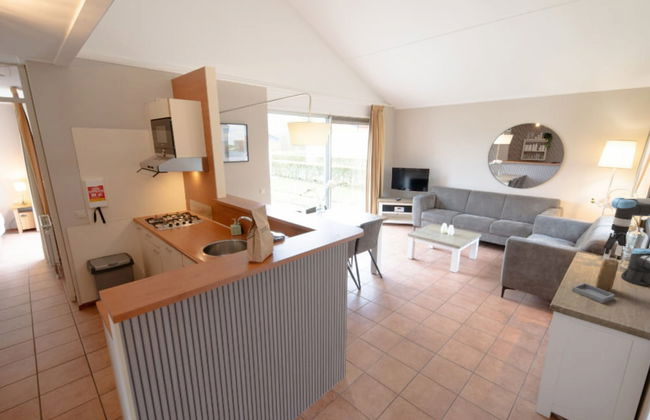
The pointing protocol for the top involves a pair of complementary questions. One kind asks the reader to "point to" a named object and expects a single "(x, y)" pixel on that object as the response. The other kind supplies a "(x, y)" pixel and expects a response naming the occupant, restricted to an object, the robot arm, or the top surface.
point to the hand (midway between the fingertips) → (611, 257)
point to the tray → (593, 293)
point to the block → (607, 275)
